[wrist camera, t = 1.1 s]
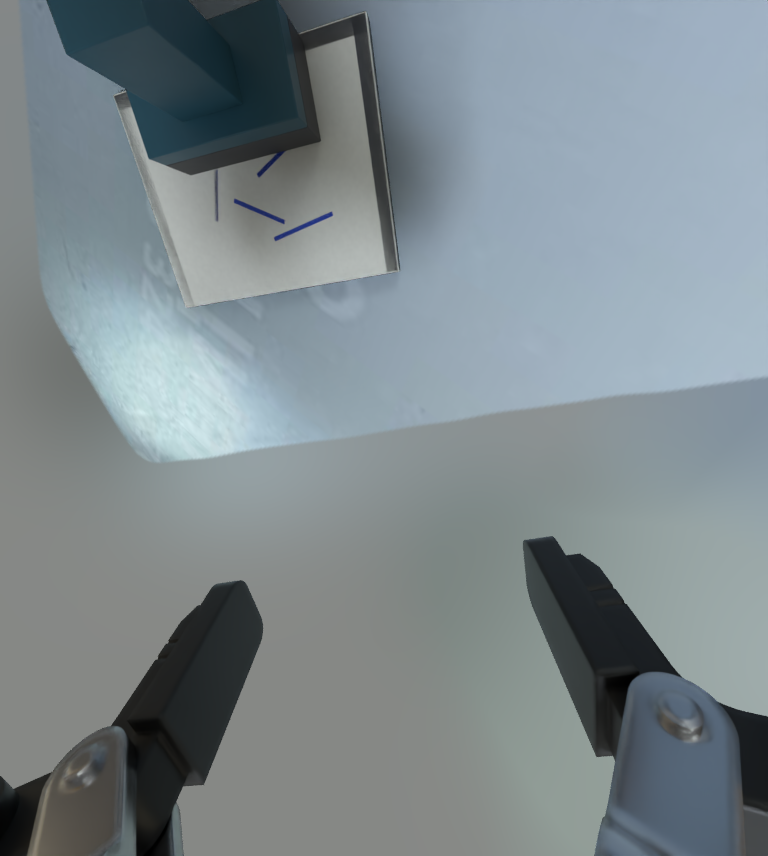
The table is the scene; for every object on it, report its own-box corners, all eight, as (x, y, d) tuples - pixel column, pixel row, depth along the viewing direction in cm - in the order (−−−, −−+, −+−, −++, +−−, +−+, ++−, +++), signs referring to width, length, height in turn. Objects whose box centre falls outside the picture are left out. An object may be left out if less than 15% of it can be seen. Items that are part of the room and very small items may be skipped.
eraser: (164, 87, 24) (-44, -52, 14) (303, 41, 21) (179, -162, 11) (190, 175, 25) (24, 111, 15) (321, 141, 23) (227, 42, 13)
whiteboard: (124, 101, 25) (112, 94, 24) (369, 20, 21) (366, 9, 20) (193, 307, 30) (185, 308, 29) (400, 271, 26) (399, 271, 26)
